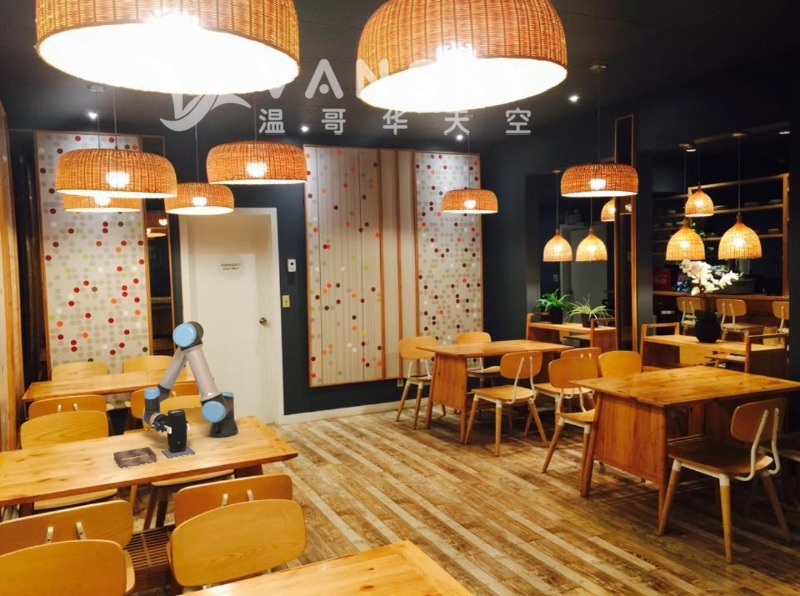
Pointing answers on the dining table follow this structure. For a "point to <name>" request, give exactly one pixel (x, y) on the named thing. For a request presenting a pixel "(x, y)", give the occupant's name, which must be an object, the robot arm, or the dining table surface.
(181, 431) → the portable speaker
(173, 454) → the rubber mat
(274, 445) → the dining table surface
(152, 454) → the walnut collar
